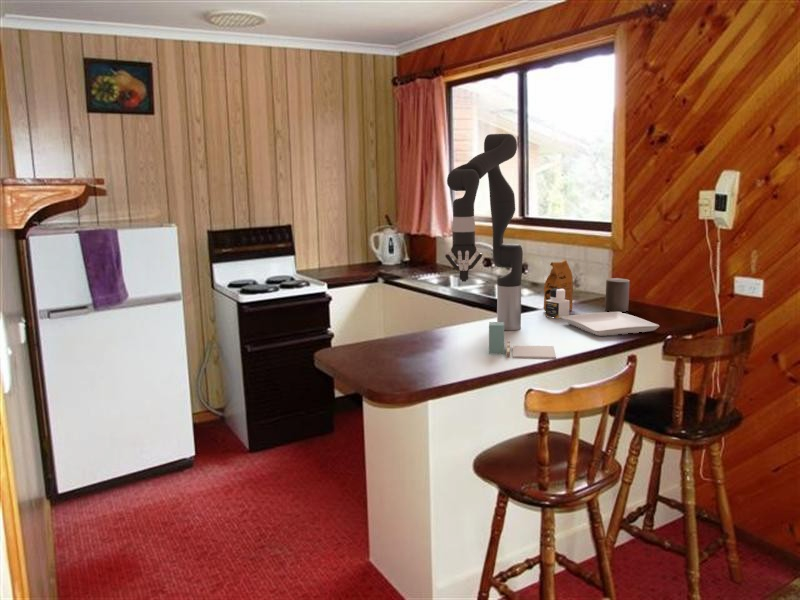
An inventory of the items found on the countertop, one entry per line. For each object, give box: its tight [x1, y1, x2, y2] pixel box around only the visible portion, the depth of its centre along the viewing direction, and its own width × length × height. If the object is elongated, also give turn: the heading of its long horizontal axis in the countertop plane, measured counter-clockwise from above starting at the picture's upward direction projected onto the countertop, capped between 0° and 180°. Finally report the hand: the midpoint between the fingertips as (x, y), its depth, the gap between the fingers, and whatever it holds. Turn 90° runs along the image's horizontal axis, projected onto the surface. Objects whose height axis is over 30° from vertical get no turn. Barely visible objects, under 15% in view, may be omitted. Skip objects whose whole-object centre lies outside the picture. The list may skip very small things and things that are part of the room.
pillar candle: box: [604, 276, 631, 313], centre depth 290 cm, size 10×10×15 cm
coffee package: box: [543, 259, 574, 312], centre depth 292 cm, size 10×12×22 cm
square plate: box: [561, 311, 660, 337], centre depth 260 cm, size 27×27×4 cm
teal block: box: [488, 321, 505, 355], centre depth 229 cm, size 5×5×10 cm
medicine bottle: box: [545, 288, 570, 319], centre depth 281 cm, size 7×7×12 cm
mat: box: [512, 344, 557, 360], centre depth 228 cm, size 14×14×1 cm
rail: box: [506, 341, 511, 359], centre depth 230 cm, size 14×1×2 cm, turn 171°
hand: (464, 281), depth 228 cm, fingers closed
